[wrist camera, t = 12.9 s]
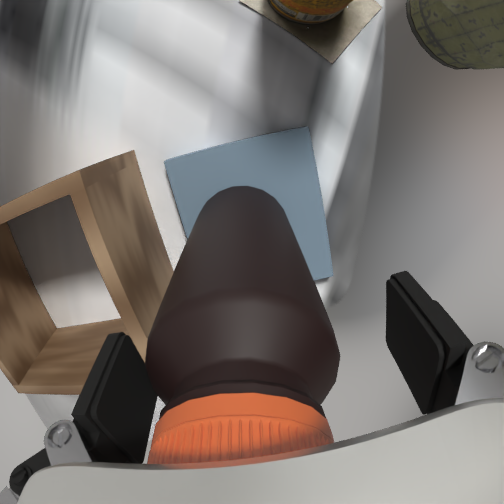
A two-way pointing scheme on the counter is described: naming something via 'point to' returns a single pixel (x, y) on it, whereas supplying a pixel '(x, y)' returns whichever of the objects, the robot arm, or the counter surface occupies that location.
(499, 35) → the thermos
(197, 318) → the vinegar
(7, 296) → the crate
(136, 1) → the counter surface
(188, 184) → the mat
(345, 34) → the condiment
